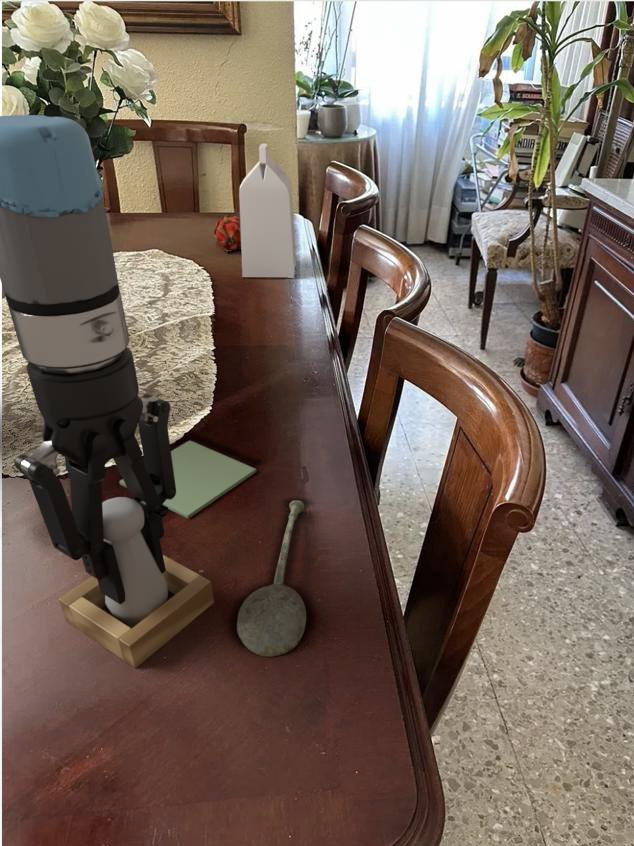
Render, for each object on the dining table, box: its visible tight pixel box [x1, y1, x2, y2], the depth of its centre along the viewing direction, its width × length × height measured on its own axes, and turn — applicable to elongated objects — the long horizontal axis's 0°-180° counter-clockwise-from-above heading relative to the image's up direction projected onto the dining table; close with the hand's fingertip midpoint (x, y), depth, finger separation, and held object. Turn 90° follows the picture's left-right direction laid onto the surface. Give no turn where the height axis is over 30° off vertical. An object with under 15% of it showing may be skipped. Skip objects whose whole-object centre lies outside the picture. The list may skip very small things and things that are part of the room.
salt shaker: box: [102, 496, 169, 628], centre depth 61 cm, size 6×6×13 cm
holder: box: [58, 554, 215, 669], centre depth 64 cm, size 10×10×3 cm
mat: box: [118, 440, 257, 520], centre depth 84 cm, size 12×12×1 cm
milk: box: [238, 143, 297, 279], centre depth 145 cm, size 12×12×26 cm
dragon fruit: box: [213, 215, 241, 253], centre depth 163 cm, size 8×8×12 cm
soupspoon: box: [236, 499, 307, 658], centre depth 69 cm, size 22×3×7 cm
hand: (133, 581), depth 63 cm, fingers closed on salt shaker, 4 cm apart
